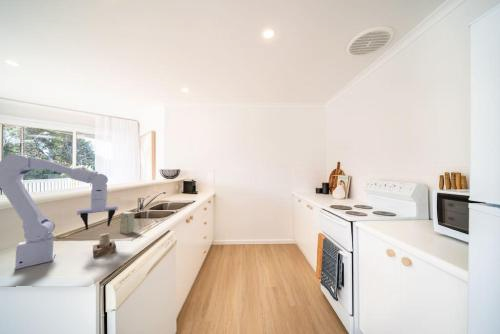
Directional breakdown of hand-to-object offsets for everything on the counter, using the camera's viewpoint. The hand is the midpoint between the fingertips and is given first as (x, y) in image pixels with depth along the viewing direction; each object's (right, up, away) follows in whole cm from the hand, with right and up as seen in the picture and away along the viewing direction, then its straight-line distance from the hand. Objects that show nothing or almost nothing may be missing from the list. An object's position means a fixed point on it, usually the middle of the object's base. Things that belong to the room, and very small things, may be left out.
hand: (97, 227), depth 82 cm
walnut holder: (+6, -10, -3) cm, 12 cm away
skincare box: (-2, -11, +23) cm, 25 cm away
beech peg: (+6, -10, -3) cm, 12 cm away
